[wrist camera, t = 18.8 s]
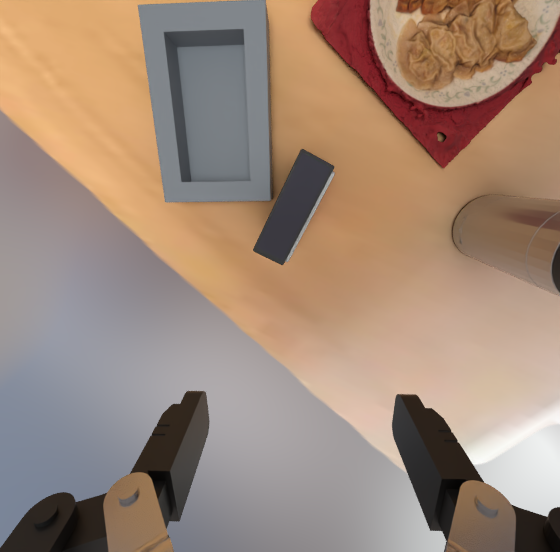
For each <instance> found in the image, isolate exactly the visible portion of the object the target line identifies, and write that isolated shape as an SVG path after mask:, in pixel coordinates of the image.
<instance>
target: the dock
mask: <svg viewBox="0 0 560 552" xmlns="http://www.w3.org/2000/svg"><path fill="white" fill-rule="evenodd" d="M138 10H139V17H140V24H141V31H142V38H143V46H144V53H145V60H146V67H147V75H148V82H149V89H150V96H151V104H152V111H153V118H154V125H155V132H156V140H157V147H158V154H159V161H160V169H161V176H162V183H163V190H164V198H165V202H222V201H271V200H272V199H273V182H272V139H271V95H270V52H269V21H268V14H267V7H266V0H243V1H219V2H195V3H171V4H147V5H138Z"/></svg>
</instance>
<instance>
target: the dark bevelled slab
mask: <svg viewBox="0 0 560 552" xmlns="http://www.w3.org/2000/svg"><path fill="white" fill-rule="evenodd" d="M333 169H334V166H333V165H331V164H329V163H328V162H326V161H324V160H322V159H320V158H318V157H317V156H315V155H313V154H311V153H309V152H307V151H306V150H304V149H301V151H300V153H299V155H298V157H297V159H296V161H295V163H294V165H293V167H292V169H291V171H290V174H289V176H288V178H287V180H286V182H285V184H284V186H283V188H282V190H281V192H280V194H279V196H278V199H277V201H276V203H275V205H274V207H273V209H272V211H271V213H270V215H269V217H268V219H267V221H266V224H265V226H264V228H263V230H262V232H261V234H260V236H259V238H258V240H257V242H256V244H255V246H254V249H253V251H254V252H256V253H258V254H260V255H262V256H264V257H266V258H268V259H270V260H272V261H275V262H277V263H279V264H281V265H283V264H284V263H285V261H286V262H288V261H289V259H290V258H291V256H292V254H293V252H294V250H295V248H296V246H297V244H298V242H299V241H300V239H301V237H302V235H303V233H304V231H305V229H306V227H307V226H308V224H309V222H310V220H311V218H312V216H313V214H314V212H315V210H316V209H317V207H318V205H319V203H320V201H321V199H322V197H323V195H324V193H325V192H326V190H327V188H328V186H329V184H330V182H331V180H332V178H333V176H334V174H335V173H334V172H333Z"/></svg>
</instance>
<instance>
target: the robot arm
mask: <svg viewBox="0 0 560 552" xmlns="http://www.w3.org/2000/svg"><path fill="white" fill-rule="evenodd" d="M453 239H454V242H455V244H456V246H457V248H458V249H459V250H460V251H461V252H462V253H464V254H465V255H467V256H470V257H472V258H474V259H476V260H479V261H481V262H483V263H485V264H487V265H489V266H492V267H494V268H496V269H499V270H501V271H503V272H505V273H508V274H510V275H512V276H514V277H517V278H519V279H521V280H524V281H526V282H528V283H530V284H533V285H535V286H537V287H540V288H542V289H544V290H547V291H549V292H551V293H554V294H556V295H558V296H560V200H550V199H538V198H527V197H516V196H504V195H486V196H482V197H479V198H477V199H475V200H473V201H472V202H470V203H468V204H467V205H466V206H465V207H464V208H463V209H462V211H461V212H460V213H459V214H458V216H457V218H456V220H455V223H454V227H453ZM208 429H209V414H208V405H207V397H206V392H204V391H187V392H186V393H185V395H184V397H183V400H182V401H181V404H173V405H171V406H170V407H169V408H168V409H167V410H166V411H165V412H164V413H163V414H162V416H161V418H160V420H159V422H158V424H157V427H155V429H154V431H153V433H152V436H150V438H149V440H148V442H147V444H146V446H145V447H144V449H143V451H142V453H141V455H140V457H139V459H138V460H137V462H136V464H135V466H134V468H133V469H132V471H131V473H130V474H129V475H126V476H125V477H123V478H121V479H120V480H118V481H117V482H116V483H115V484H114V485H113V486H112V487H111V488H110V490H109V491H108V492H107V493H105V494H103V495H100V496H96V497H93V498H89V499H86V500H82V501H79V502H75V499H74V497H73V496H72V495H71V494H70V493H64V492H63V493H57V494H53V495H51V496H48V497H46V498H45V499H43V500H42V501H40V502H38V503H37V504H36V505H34V506H33V507H32V508H31V509H30V510H29V511H28V512H27V513H26V514H25V516H24V517H23V518H22V519H21V521H20V522H19V523H18V525H17V526H16V527H15V529H14V530H13V532H12V533H11V534H10V536H9V537H8V538H7V540H6V541H5V543H4V544H3V545H2V546H1V548H0V552H174V550H173V547H172V544H171V541H170V537H169V535H168V534H167V530H166V529H167V526H168V523H169V521H180V518H181V515H182V512H183V509H184V506H185V503H186V500H187V497H188V493H189V490H190V488H191V484H192V481H193V478H194V475H195V472H196V469H197V466H198V463H199V460H200V457H201V454H202V451H203V448H204V445H205V442H206V438H207V435H208ZM392 430H393V436H394V440H395V442H396V445H397V447H398V450H399V452H400V455H401V458H402V460H403V463H404V465H405V468H406V470H407V473H408V475H409V478H410V480H411V483H412V485H413V488H414V490H415V493H416V495H417V498H418V501H419V503H420V506H421V508H422V511H423V513H424V515H425V518H426V521H427V523H428V526H429V528H430V530H431V531H432V530H433V531H443V534H444V536H445V539H446V541H447V542H446V546H445V550H444V552H560V507H557V508H554V509H552V510H551V511H550V512H549V515H548V517H546V516H542V515H539V514H536V513H533V512H530V511H527V510H524V509H521V508H518V507H516V506H513V505H511V504H510V502H509V501H508V500H507V499H506V498H505V497H504V496H503V494H501V493H500V492H499V491H498V490H496V489H495V488H493V487H492V486H490V485H488V484H486V483H484V481H483V480H482V478H481V477H480V475H479V474H478V472H477V471H476V469H475V467H474V466H473V464H472V463H471V461H470V459H469V458H468V456H467V455H466V453H465V451H464V450H463V448H462V447H461V445H460V444H459V443H458V442H457V439H456V437H455V436H454V434H453V433H452V432H451V429H450V428H449V426H448V425H447V423H446V422H445V420H444V418H442V417H441V416H440V415H439V414H438V413H437V412H435V411H434V410H433V409H432V408H425V407H424V405H423V404H422V402H421V400H420V399H419V397H418V396H417V395H406V394H398V395H397V396H396V399H395V406H394V414H393V421H392Z"/></svg>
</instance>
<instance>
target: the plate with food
mask: <svg viewBox="0 0 560 552" xmlns="http://www.w3.org/2000/svg"><path fill="white" fill-rule="evenodd" d="M311 19H312V21H313V23H314V24H315V26H316V27H317V29H319V30H321V31H322V34H323V35H324V36H325V39H326V40H327V41H328V42H329V44H330V45H331V46H332V47H333V48H334V49H335V50H336V51H337V52H338V53H339V54H340V55H341V57H342V58H343V59H344V60H345V61H346V62H347V63H348V64H349V65H350V67H351V66H352V67H353V69H355V70H356V71H357V72H358V73H359V74H360V76H362V78H363V80H364V81H365V82H366V83H367V84H368V85H369V86H370V87H371V88H373V89H374V91H375V92H376V93H377V94H378V95H379V97H380V98H381V99H382V100H383V101H384V103H385V104H386V105H387V106H388V107H389V108H390V109H391V110H392V112H393V113H394V114H395V115H396V117H397V118H398V119H399V120H400V121H401V122H403V123H404V125H405V126H406V127H408V128H409V130H410V131H411V132H412V134H413V135H414V137H415V138H417V139H418V141H419V142H420V143H421V144H422V145H423V146H424V147H426V149H427V151H428V152H429V153H430V154H431V156H432V157H433V158H434V159H435V160H436V161H437V162H438V163H439V164H440V165H441V166H442V167H443V168H445V167H446V166H447V165H448V163H449V162H451V160H453V159H454V157H455V156H457V155H458V153H459V152H460V151H461V150H462V149H464V148H465V147H466V146H467V145H468V144H469V143H470V142H471V140H472V139H473V138H474V137H475V136H476V135H477V134H478V133H479V131H481V130H482V129H483V128H484V127H486V125H487V124H488V123H489V122H490V121H491V120H492V119H493V118H494V117H495V116H496V115H497V114H498V113H499V112H500V111H501V110H502V109H503V108H504V107H505V106H506V105H507V104H508V103H509V102H510V101H511V100H512V99H513V98H514V97H515V96H516V95H517V94H519V93H520V92H521V91H522V90H523V89H524V88H526V87H527V86H528V85H530V84H531V83H532V81H531V76H532V75H533V74H535V73H539V72H541V71H542V65H543V63H544V62H547V63H548V64H550V65H551V64H552V65H554V64H556V62H557V60H556V59H555V56H556V55H557V53H558V52H559V53H560V0H318V1H317V2H316V4H315V5H314V6H313V7H312V11H311ZM438 132H442V133H443V134H445V135H446V136H447V138H446V139H445V141H444V142H440V141H438V137H437V133H438Z"/></svg>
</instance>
